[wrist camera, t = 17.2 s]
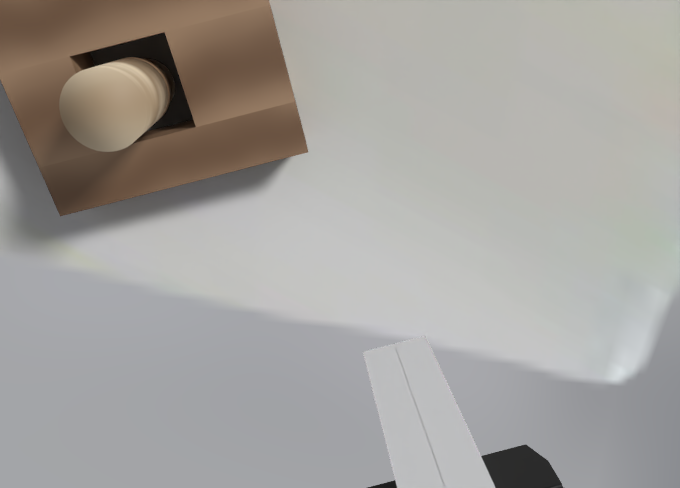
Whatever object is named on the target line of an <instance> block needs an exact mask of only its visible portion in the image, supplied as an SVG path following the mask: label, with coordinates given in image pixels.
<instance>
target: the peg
mask: <svg viewBox="0 0 680 488" xmlns="http://www.w3.org/2000/svg"><path fill="white" fill-rule="evenodd" d="M174 93H175V82H174V79H173V76H172V74H171V72H170V71H169V70H168V68H167V67H166V66H165V65H163V64H162V63H160V62H159V61H157V60H154V59H150V58H138V57H127V58H123V59H119V60H116V61H112V62H109V63H105V64H102V65H98V66H95V67H92V68H88V69H85V70H82V71H80V72H78V73H76V74H75V75H73V76H72V77H71V78H70V79H69V80H68V81H67V82H66V84H65V85H64V87H63V89H62V92H61V95H60V100H59V110H60V115H61V118H62V121H63V123H64V125H65V127H66V129H67V130H68V132H69V133H70V134H71V135H72V136H73V137H74V138H75V139H76V140H77V141H78V142H80V143H81V144H83V145H84V146H86V147H88V148H90V149H93V150H96V151H102V152H114V151H119V150H122V149H124V148H126V147H128V146H130V145H131V144H132V143H134V142H135V141H136V140H137V139H138V138H139V137H140V136H141V135H142V134H144V133H145V132H146V131H147V130H148V129H149V128H150V127H151V126H152V125H154V124H155V123H156V122H157V121H158V120H159V119H160V118H161V117H162V116H163V115H164V114H165V113H166V111H167V109H168V107H169V104H170V102H171V101H172V99H173V97H174Z"/></svg>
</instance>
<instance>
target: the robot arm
mask: <svg viewBox="0 0 680 488" xmlns="http://www.w3.org/2000/svg"><path fill="white" fill-rule="evenodd" d="M363 355H364V359H365V363H366V367H367V370H368V374H369V378H370V382H371V386H372V390H373V394H374V398H375V402H376V406H377V410H378V414H379V418H380V422H381V426H382V430H383V434H384V437H385V441H386V446H387V450H388V454H389V458H390V461H391V465H392V469H393V473H394V477H395V481H391V482H387V483H384V484H380V485H376V486H372V487H368V488H563V486H562V483H561V482H560V480H559V478H558V477H557V475H556V473H555V472H554V470H553V468H552V467H551V465H550V463H549V462H548V461H547V460H546V459H545V458H543V457H542V456H540V455H539V454H538V453H537V452H535V451H534V450H533V449H531V448H530V447H528V446H527V445H522V446H518V447H514V448H511V449H507V450H503V451H499V452H495V453H491V454H488V455H484V456H481V455H480V453H479V451H478V449H477V447H476V444H475V442H474V440H473V438H472V436H471V433H470V431H469V429H468V427H467V425H466V423H465V420H464V418H463V416H462V414H461V412H460V409H459V407H458V405H457V403H456V401H455V399H454V396H453V394H452V392H451V390H450V388H449V386H448V383H447V381H446V379H445V377H444V375H443V373H442V370H441V368H440V366H439V364H438V362H437V360H436V357H435V355H434V353H433V351H432V349H431V346H430V344H429V342H428V340H427V338H426V336H421V337H418V338H414V339H410V340H406V341H402V342H398V343H394V344H391V345H387V346H383V347H379V348H375V349H371V350H368V351H364V352H363Z"/></svg>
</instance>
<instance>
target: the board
mask: <svg viewBox="0 0 680 488" xmlns="http://www.w3.org/2000/svg"><path fill="white" fill-rule="evenodd" d="M163 33H165V35H166V38H167V41H168V44H169V47H170V50H171V53H172V56H173V59H174V62H175V65H176V68H177V71H178V74H179V78H180V81H181V84H182V87H183V90H184V93H185V96H186V99H187V102H188V105H189V108H190V111H191V114H192V117H193V119H192V120H189V121H185V122H181V123H177V124H173V125H169V126H165V127H161V128H158V129H154V130H150V131H146V132H145V133H144V134H142V135H141V136H140V137H139V138H138V139H137V140H136V141H135V142H134V143H132V144H131V145H130V146H128V147H126V148H124V149H122V150H119V151H114V152H102V151H96V150H93V149H90V148H88V147H86V146H84V145H83V144H81V143H80V142H78V141H77V140H76V139H75V138H74V137H73V136H72V135H71V134H70V133H69V132H68V130H67V129H66V127H65V125H64V123H63V121H62V118H61V115H60V110H59V100H60V95H61V92H62V89H63V87H64V85H65V84H66V82H67V81H68V80H69V79H70V78H71V77H72V76H73V75H75V74H76V73H78V72H80V71H82V70H85V69H88V68H92V67H95V65H94V62H93V59H92V57H91V54H90V52H93V51H97V50H101V49H104V48H108V47H112V46H116V45H120V44H124V43H128V42H132V41H136V40H139V39H143V38H147V37H151V36H155V35H159V34H163ZM0 80H1V82H2V85H3V87H4V89H5V92H6V94H7V96H8V98H9V101H10V103H11V105H12V107H13V110H14V112H15V114H16V117H17V119H18V121H19V123H20V126H21V128H22V130H23V132H24V135H25V137H26V139H27V142H28V144H29V146H30V148H31V151H32V153H33V155H34V157H35V160H36V162H37V164H38V167H39V169H40V171H41V173H42V176H43V178H44V180H45V182H46V185H47V187H48V189H49V192H50V194H51V196H52V198H53V201H54V203H55V205H56V207H57V210H58V212H59V214H60V216H63V215H67V214H71V213H75V212H78V211H82V210H86V209H90V208H94V207H98V206H102V205H106V204H109V203H113V202H117V201H121V200H125V199H129V198H133V197H136V196H140V195H144V194H148V193H152V192H156V191H160V190H163V189H167V188H171V187H175V186H179V185H183V184H187V183H191V182H194V181H198V180H202V179H206V178H210V177H214V176H218V175H221V174H225V173H229V172H233V171H237V170H241V169H245V168H249V167H252V166H256V165H260V164H264V163H268V162H272V161H276V160H279V159H283V158H287V157H291V156H295V155H299V154H303V153H307V152H308V149H307V145H306V140H305V136H304V132H303V129H302V125H301V121H300V117H299V113H298V110H297V106H296V102H295V98H294V94H293V90H292V87H291V83H290V79H289V75H288V71H287V68H286V64H285V60H284V56H283V52H282V49H281V45H280V41H279V37H278V33H277V30H276V26H275V22H274V18H273V14H272V10H271V7H270V3H269V0H0Z"/></svg>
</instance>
